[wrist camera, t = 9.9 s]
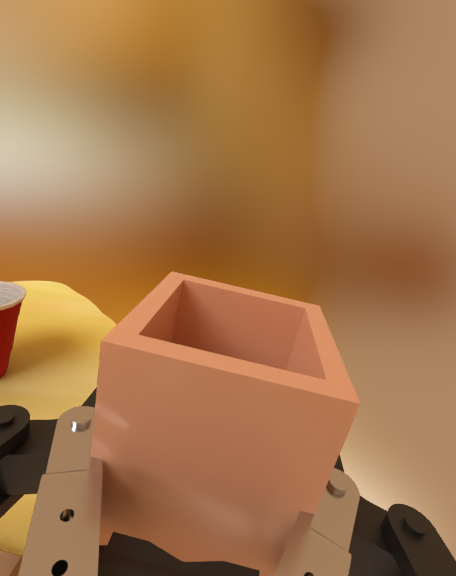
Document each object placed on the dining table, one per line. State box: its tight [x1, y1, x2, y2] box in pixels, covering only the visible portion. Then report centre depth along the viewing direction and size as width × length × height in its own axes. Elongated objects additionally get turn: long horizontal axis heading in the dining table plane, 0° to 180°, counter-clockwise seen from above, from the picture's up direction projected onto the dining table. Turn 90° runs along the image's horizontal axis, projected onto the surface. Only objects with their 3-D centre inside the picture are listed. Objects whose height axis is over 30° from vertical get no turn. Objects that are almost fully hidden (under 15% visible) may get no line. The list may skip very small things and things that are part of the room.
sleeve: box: [91, 272, 360, 576], centre depth 12 cm, size 6×6×11 cm
